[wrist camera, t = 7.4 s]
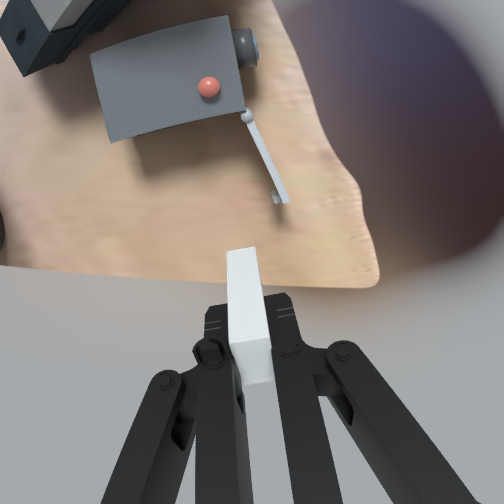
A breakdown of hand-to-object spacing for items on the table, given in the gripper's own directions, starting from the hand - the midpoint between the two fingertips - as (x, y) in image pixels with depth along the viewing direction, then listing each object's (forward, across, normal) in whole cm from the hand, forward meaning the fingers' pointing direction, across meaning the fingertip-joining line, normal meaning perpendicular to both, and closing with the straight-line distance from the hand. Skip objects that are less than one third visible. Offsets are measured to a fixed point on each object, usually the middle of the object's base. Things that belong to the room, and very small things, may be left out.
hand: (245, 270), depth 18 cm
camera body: (+24, -4, +11) cm, 27 cm away
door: (+24, +3, +1) cm, 24 cm away
